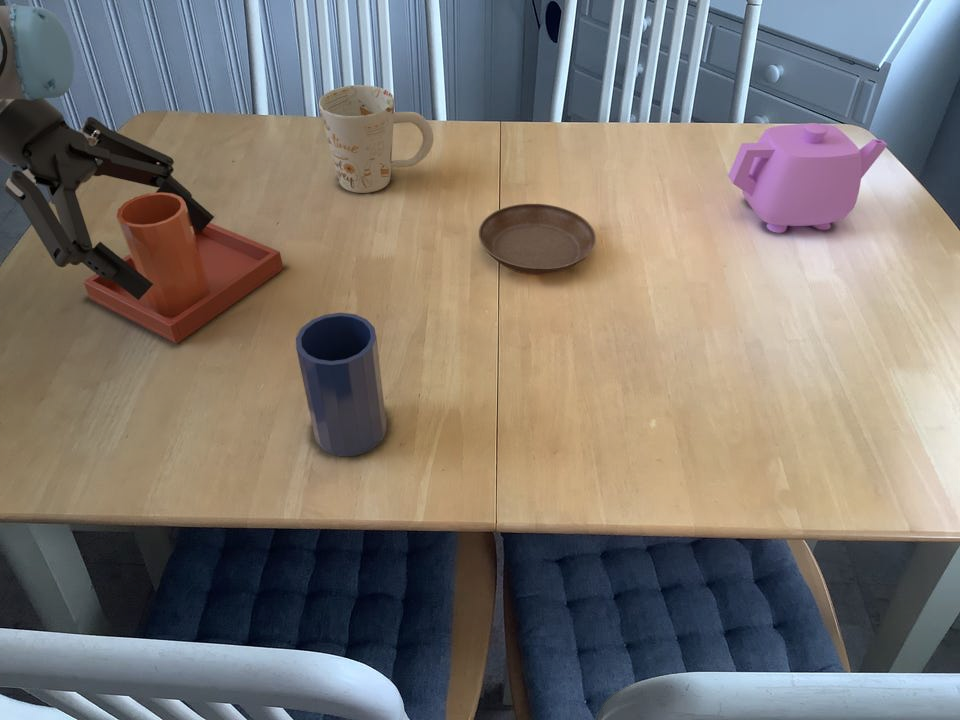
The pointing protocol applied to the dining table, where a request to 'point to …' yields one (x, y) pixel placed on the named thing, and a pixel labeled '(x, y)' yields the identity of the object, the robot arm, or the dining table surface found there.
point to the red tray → (229, 274)
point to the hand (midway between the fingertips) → (178, 256)
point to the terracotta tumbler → (164, 251)
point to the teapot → (802, 174)
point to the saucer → (537, 238)
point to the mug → (366, 135)
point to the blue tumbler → (342, 383)
